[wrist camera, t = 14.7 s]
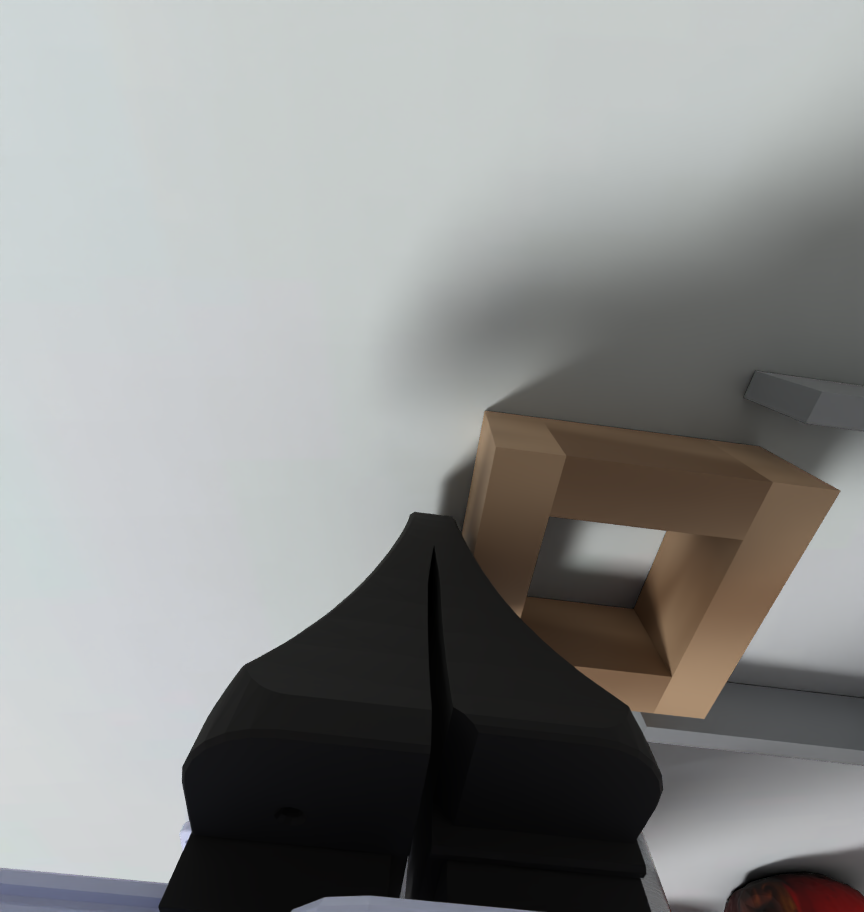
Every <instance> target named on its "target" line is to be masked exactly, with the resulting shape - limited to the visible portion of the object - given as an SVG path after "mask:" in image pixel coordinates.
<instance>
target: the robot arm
mask: <svg viewBox="0 0 864 912" xmlns="http://www.w3.org/2000/svg"><path fill="white" fill-rule="evenodd" d="M182 784H183V790H184V795H185V800H186V805H187V811H188V816H189V821H188V822H186V823H185V824H184V825H183V827H182V829H181V831H180V834H179V835H180V840H181V845H182V849H183V852H182V854H181V857H180V859H179V861H178V863H177V866H176V868H175V870H174V872H173V874H172V877H171V879H170V881H169V883H157V882H147V881H136V880H125V879H115V878H104V877H93V876H83V875H72V874H61V873H50V872H40V871H29V870H18V869H8V868H0V912H651V909H650V906H649V903H648V899H647V896H646V893H645V890H644V887H643V884H642V881H641V878H643V879H644V877H645V875H646V865H645V862H644V859H643V856H642V853H641V850H640V847H639V845H638V842H637V838H638V836H639V835H640V833H641V832H642V830H643V828H644V827H645V825H646V823H647V822H648V820H649V818H650V817H651V815H652V813H653V812H654V810H655V808H656V806H657V804H658V802H659V799H660V796H661V794H662V791H663V784H662V775H661V772H660V770H659V768H658V766H657V763H656V761H655V759H654V756H653V754H652V752H651V749H650V747H649V745H648V743H647V741H646V738H645V736H644V734H643V732H642V730H641V728H640V727H639V725H638V723H637V721H636V719H635V718H634V716H633V714H632V712H631V710H630V708H629V706H628V705H626V704H625V703H623V702H622V701H621V700H619V699H618V698H616V697H615V696H614V695H612V694H611V693H609V692H608V691H606V690H605V689H604V688H602V687H601V686H599V685H598V684H596V683H595V682H594V681H592V680H591V679H589V678H588V677H587V676H585V675H584V674H583V673H581V672H580V671H579V670H577V669H576V668H575V667H574V666H573V665H571V664H570V663H569V662H568V661H566V660H565V659H564V658H563V657H561V656H560V655H559V654H558V653H557V652H556V651H554V650H553V649H552V648H551V647H550V646H549V645H548V644H546V643H545V642H544V641H543V640H542V639H541V638H540V637H539V636H538V635H537V634H536V633H535V632H534V631H533V630H532V629H531V628H530V627H529V626H528V625H526V624H525V623H524V621H523V620H522V619H521V618H520V617H519V616H518V615H517V614H516V613H515V612H514V611H513V610H512V608H511V607H510V606H509V605H508V604H507V603H506V602H505V600H504V599H503V598H502V597H501V595H500V594H499V593H498V591H497V590H496V589H495V587H494V586H493V585H492V583H491V582H490V580H489V579H488V578H487V576H486V575H485V573H484V572H483V570H482V569H481V567H480V566H479V564H478V562H477V561H476V559H475V557H474V556H473V554H472V553H471V551H470V549H469V547H468V546H467V544H466V542H465V540H464V538H463V536H462V534H461V532H460V530H459V528H458V526H457V523H456V521H455V520H454V518H453V517H451V516H443V515H435V514H427V513H419V512H414V513H412V514H411V515H410V517H409V520H408V522H407V524H406V526H405V528H404V530H403V532H402V533H401V535H400V537H399V538H398V540H397V541H396V543H395V544H394V545H393V547H392V548H391V550H390V551H389V552H388V554H387V555H386V556H385V558H384V559H383V560H382V561H381V562H380V564H379V565H378V566H377V567H376V568H375V570H374V571H373V572H372V573H371V574H370V575H369V576H368V577H367V578H366V579H365V580H364V582H363V583H362V584H361V585H360V586H358V587H357V588H356V589H355V590H354V591H353V592H352V593H351V594H350V595H349V596H348V597H347V598H345V599H344V600H343V601H342V602H341V603H340V604H338V605H337V606H336V607H335V608H334V609H333V610H331V611H330V612H329V613H327V614H326V615H325V616H324V617H322V618H321V619H319V620H318V621H317V622H315V623H314V624H312V625H311V626H309V627H308V628H306V629H305V630H304V631H302V632H301V633H299V634H298V635H296V636H295V637H293V638H292V639H290V640H289V641H287V642H285V643H284V644H282V645H280V646H278V647H277V648H275V649H273V650H271V651H270V652H268V653H266V654H264V655H262V656H261V657H259V658H257V659H255V660H253V661H251V662H249V663H247V664H245V665H244V666H243V667H242V668H241V669H240V671H239V672H238V673H237V675H236V676H235V677H234V679H233V680H232V682H231V683H230V684H229V686H228V687H227V688H226V690H225V691H224V693H223V694H222V696H221V697H220V699H219V700H218V702H217V703H216V705H215V706H214V708H213V709H212V711H211V713H210V714H209V716H208V718H207V720H206V722H205V723H204V725H203V727H202V729H201V731H200V733H199V735H198V737H197V739H196V741H195V743H194V745H193V747H192V749H191V751H190V753H189V755H188V757H187V759H186V761H185V763H184V765H183V767H182ZM407 858H408V868H407V881H406V893H405V899H400V893H401V888H402V883H403V878H404V873H405V868H406V863H407Z"/></svg>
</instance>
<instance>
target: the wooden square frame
mask: <svg viewBox="0 0 864 912" xmlns="http://www.w3.org/2000/svg"><path fill="white" fill-rule="evenodd" d="M839 493H840V490H838V489H836V488H834V487H833V486H831V485H829V484H827V483H825V482H824V481H822V480H820V479H818V478H816V477H814V476H813V475H811V474H809V473H807V472H805V471H804V470H802V469H800V468H798V467H796V466H794V465H793V464H791V463H789V462H787V461H785V460H783V459H782V458H780V457H778V456H776V455H774V454H773V453H771V452H769V451H767V450H765V449H763V448H762V447H760V446H753V445H745V444H737V443H730V442H722V441H714V440H707V439H699V438H691V437H684V436H676V435H668V434H661V433H653V432H645V431H638V430H630V429H622V428H615V427H607V426H599V425H592V424H584V423H576V422H569V421H561V420H553V419H546V418H538V417H530V416H523V415H515V414H507V413H500V412H492V411H485V412H484V418H483V423H482V428H481V434H480V439H479V444H478V450H477V455H476V460H475V465H474V471H473V476H472V481H471V487H470V492H469V497H468V503H467V508H466V513H465V519H464V524H463V529H462V536H463V538H464V540H465V542H466V544H467V546H468V547H469V549H470V551H471V553H472V554H473V556H474V557H475V559H476V561H477V562H478V564H479V566H480V567H481V569H482V570H483V572H484V573H485V575H486V576H487V578H488V579H489V580H490V582H491V583H492V585H493V586H494V587H495V589H496V590H497V591H498V593H499V594H500V595H501V597H502V598H503V599H504V600H505V602H506V603H507V604H508V605H509V606H510V607H511V608H512V610H513V611H514V612H515V613H516V614H517V615H518V616H519V617H520V618H521V619H522V620H523V621H524V623H525V624H526V625H528V626H529V627H530V628H531V629H532V630H533V631H534V632H535V633H536V634H537V635H538V636H539V637H540V638H541V639H542V640H543V641H544V642H545V643H546V644H548V645H549V646H550V647H551V648H552V649H553V650H554V651H556V652H557V653H558V654H559V655H560V656H561V657H563V658H564V659H565V660H566V661H568V662H569V663H570V664H571V665H573V666H574V667H575V668H576V669H577V670H579V671H580V672H581V673H583V674H584V675H585V676H587V677H588V678H589V679H591V680H592V681H594V682H595V683H596V684H598V685H599V686H601V687H602V688H604V689H605V690H606V691H608V692H609V693H611V694H612V695H614V696H615V697H616V698H618V699H619V700H621V701H622V702H623V703H625V704H626V705H628V706H629V708H630V710H631V711H636V712H646V713H655V714H664V715H673V716H682V717H692V718H701V719H705V717H706V715H707V714H708V712H709V710H710V709H711V707H712V705H713V704H714V702H715V700H716V699H717V697H718V695H719V694H720V692H721V690H722V689H723V687H724V685H725V684H726V682H727V680H728V679H729V677H730V675H731V674H732V672H733V670H734V669H735V667H736V665H737V663H738V662H739V660H740V658H741V657H742V655H743V653H744V652H745V650H746V648H747V647H748V645H749V643H750V642H751V640H752V638H753V637H754V635H755V633H756V632H757V630H758V628H759V627H760V625H761V623H762V622H763V620H764V618H765V617H766V615H767V613H768V612H769V610H770V608H771V607H772V605H773V603H774V602H775V600H776V598H777V597H778V595H779V593H780V591H781V590H782V588H783V586H784V585H785V583H786V581H787V580H788V578H789V576H790V575H791V573H792V571H793V570H794V568H795V566H796V565H797V563H798V561H799V560H800V558H801V556H802V555H803V553H804V551H805V550H806V548H807V546H808V545H809V543H810V541H811V540H812V538H813V536H814V535H815V533H816V531H817V530H818V528H819V526H820V525H821V523H822V521H823V519H824V518H825V516H826V514H827V513H828V511H829V509H830V508H831V506H832V504H833V503H834V501H835V499H836V498H837V496H838V494H839ZM549 516H550V517H558V518H567V519H575V520H583V521H591V522H599V523H607V524H615V525H624V526H632V527H640V528H648V529H656V530H664V531H666V534H665V536H664V539H663V541H662V543H661V546H660V548H659V550H658V553H657V555H656V557H655V560H654V562H653V564H652V567H651V569H650V572H649V574H648V576H647V579H646V581H645V583H644V586H643V588H642V590H641V593H640V595H639V597H638V600H637V602H636V605H635V607H634V609H629V608H621V607H612V606H604V605H595V604H586V603H578V602H569V601H561V600H552V599H544V598H535V597H527V593H528V590H529V586H530V583H531V579H532V576H533V572H534V569H535V565H536V561H537V558H538V554H539V551H540V547H541V544H542V540H543V537H544V533H545V530H546V526H547V523H548V519H549Z"/></svg>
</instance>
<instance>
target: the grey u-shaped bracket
mask: <svg viewBox="0 0 864 912" xmlns="http://www.w3.org/2000/svg"><path fill="white" fill-rule="evenodd" d="M744 398H746V399H748V400H750V401H753V402H755V403H758V404H760V405H763V406H765V407H767V408H770V409H772V410H775V411H777V412H779V413H782V414H784V415H787V416H789V417H791V418H794V419H796V420H799V421H801V422H804V423H807V424H814V425H821V426H828V427H836V428H843V429H850V430H858V431H864V386H860V385H853V384H846V383H839V382H832V381H825V380H818V379H811V378H804V377H797V376H790V375H782V374H775V373H768V372H761V371H755V373H754V376H753V378H752V380H751V382H750V384H749V387H748V389H747V391H746V393H745V396H744ZM631 712H632V714H633V716H634V718H635V719H636V721H637V723H638V725H639V727H640V728H641V730H642V732H643V734H644V736H645V738H646V741H647V742H653V743H662V744H671V745H680V746H689V747H698V748H707V749H716V750H725V751H735V752H744V753H753V754H762V755H771V756H780V757H789V758H798V759H807V760H816V761H825V762H834V763H843V764H852V765H861V766H864V698H856V697H848V696H839V695H830V694H822V693H813V692H805V691H796V690H787V689H779V688H770V687H761V686H753V685H744V684H736V683H727V682H726V684H725V685H724V687H723V689H722V690H721V692H720V694H719V695H718V697H717V699H716V700H715V702H714V704H713V705H712V707H711V709H710V710H709V712H708V714H707V715H706V717H705V719H701V718H692V717H682V716H673V715H664V714H655V713H646V712H636V711H631Z"/></svg>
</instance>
